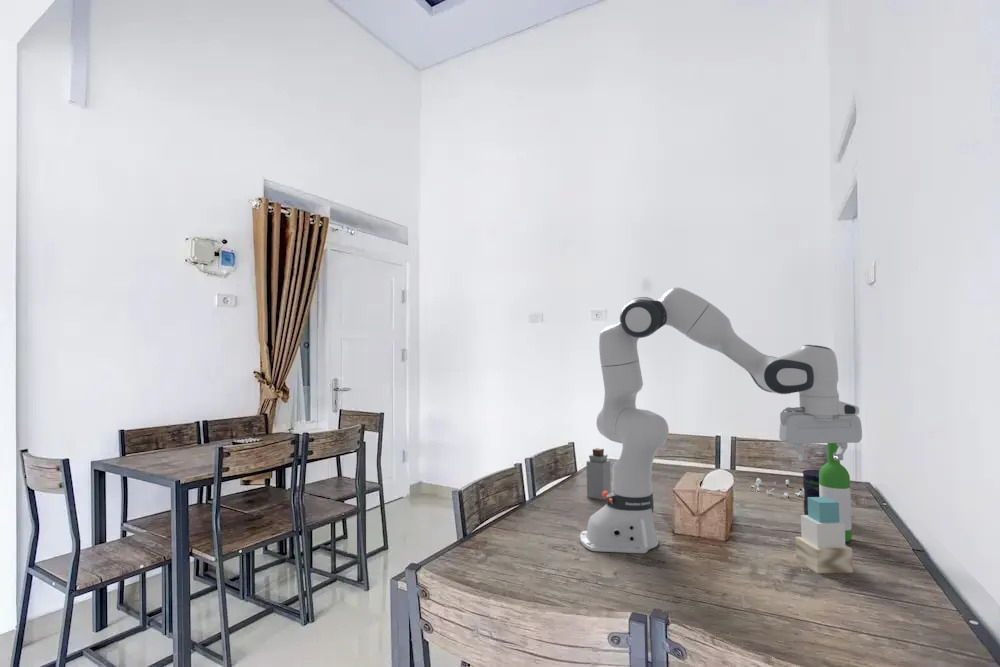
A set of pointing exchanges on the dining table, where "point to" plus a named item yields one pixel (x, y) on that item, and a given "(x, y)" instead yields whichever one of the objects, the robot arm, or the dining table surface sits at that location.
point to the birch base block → (824, 557)
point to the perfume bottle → (598, 474)
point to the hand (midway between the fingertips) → (820, 460)
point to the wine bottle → (837, 487)
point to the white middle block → (823, 533)
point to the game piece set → (773, 488)
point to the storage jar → (810, 486)
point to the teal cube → (823, 509)
